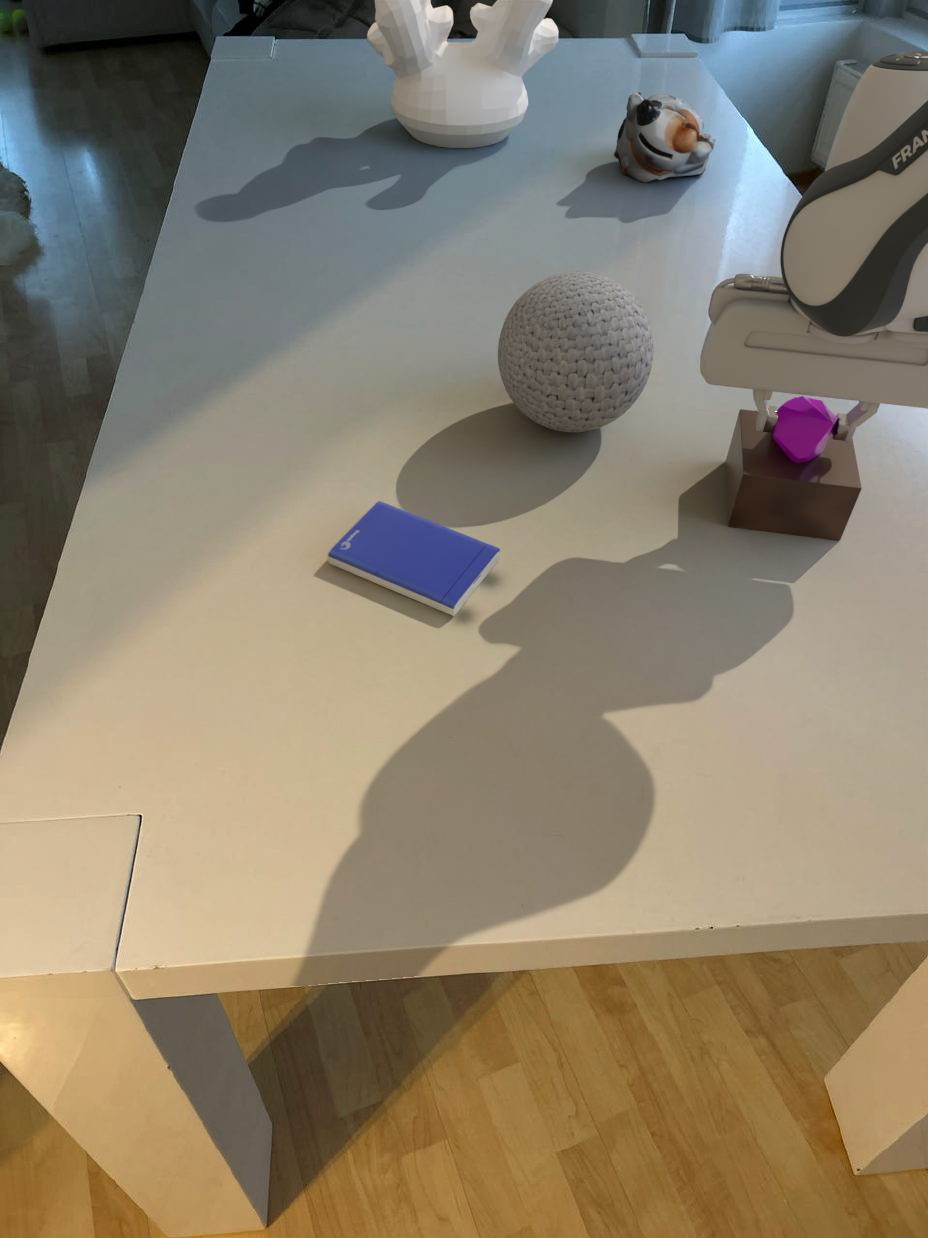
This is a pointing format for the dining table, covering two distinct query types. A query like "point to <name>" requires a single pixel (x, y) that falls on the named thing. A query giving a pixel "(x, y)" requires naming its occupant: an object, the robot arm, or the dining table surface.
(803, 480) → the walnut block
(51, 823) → the dining table surface
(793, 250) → the robot arm
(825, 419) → the crystal
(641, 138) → the lucky cat figurine
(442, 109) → the vase
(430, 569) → the hard drive
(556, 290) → the decorative ball
